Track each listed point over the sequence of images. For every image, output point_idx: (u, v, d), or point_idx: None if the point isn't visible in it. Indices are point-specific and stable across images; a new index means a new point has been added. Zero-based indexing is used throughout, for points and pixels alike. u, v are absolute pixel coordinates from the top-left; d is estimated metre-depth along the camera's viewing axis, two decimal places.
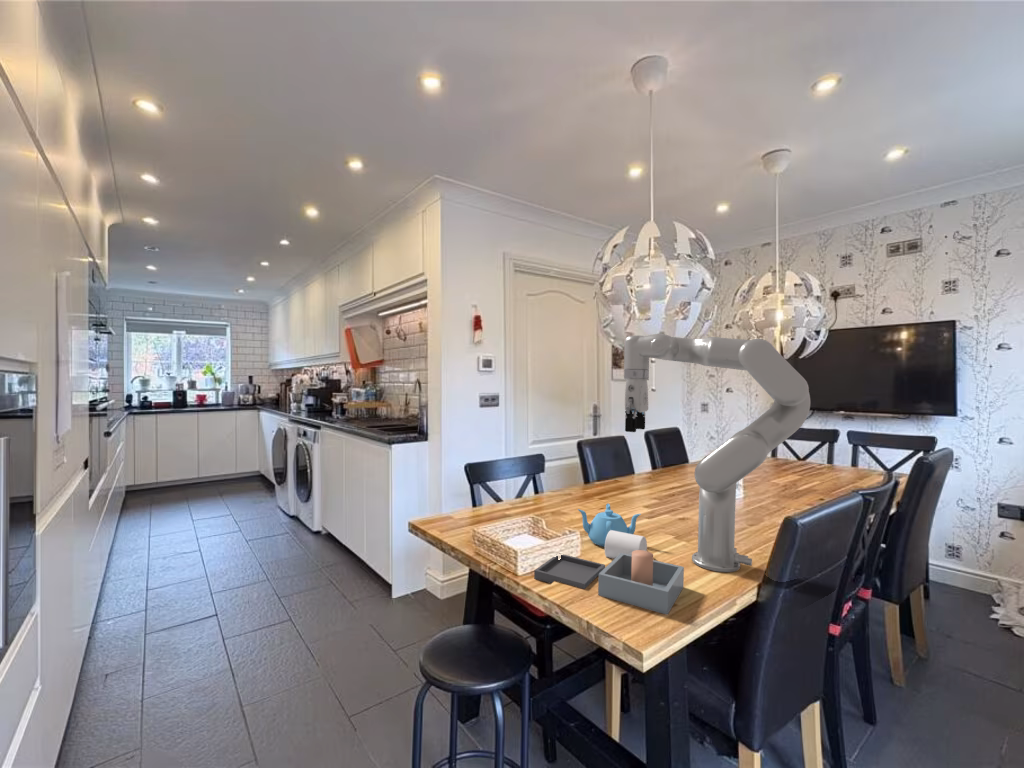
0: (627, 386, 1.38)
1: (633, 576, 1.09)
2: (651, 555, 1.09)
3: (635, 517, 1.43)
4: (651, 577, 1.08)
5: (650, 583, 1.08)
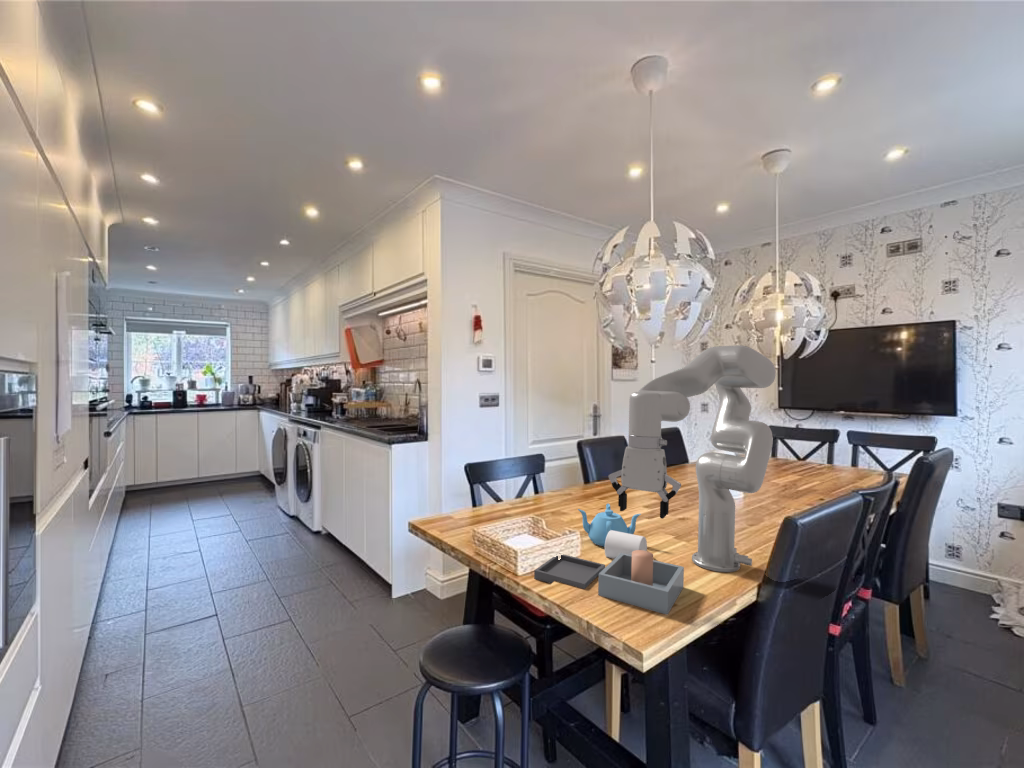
0: (661, 459, 1.06)
1: (633, 576, 1.09)
2: (651, 555, 1.09)
3: (635, 517, 1.43)
4: (651, 577, 1.08)
5: (650, 583, 1.08)
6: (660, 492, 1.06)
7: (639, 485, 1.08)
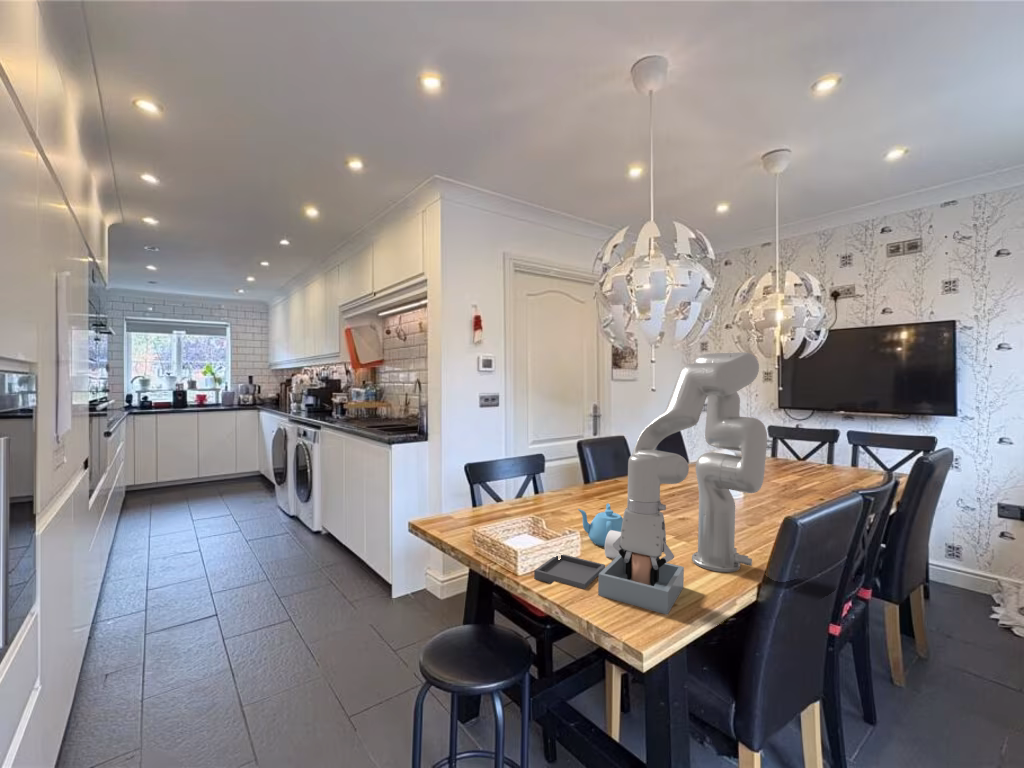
0: (660, 525, 1.06)
1: (633, 576, 1.09)
2: None
3: None
4: None
5: None
6: (653, 559, 1.07)
7: (638, 549, 1.08)
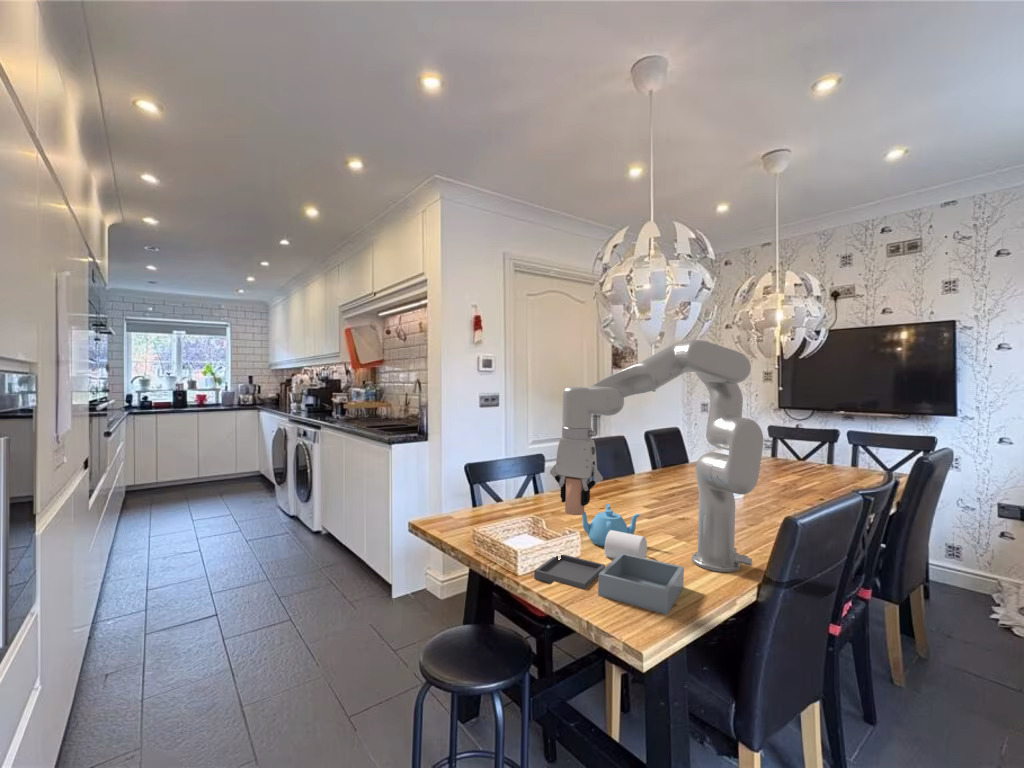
0: (590, 449, 1.16)
1: (566, 498, 1.18)
2: None
3: (635, 517, 1.43)
4: None
5: None
6: (584, 481, 1.17)
7: (571, 473, 1.18)
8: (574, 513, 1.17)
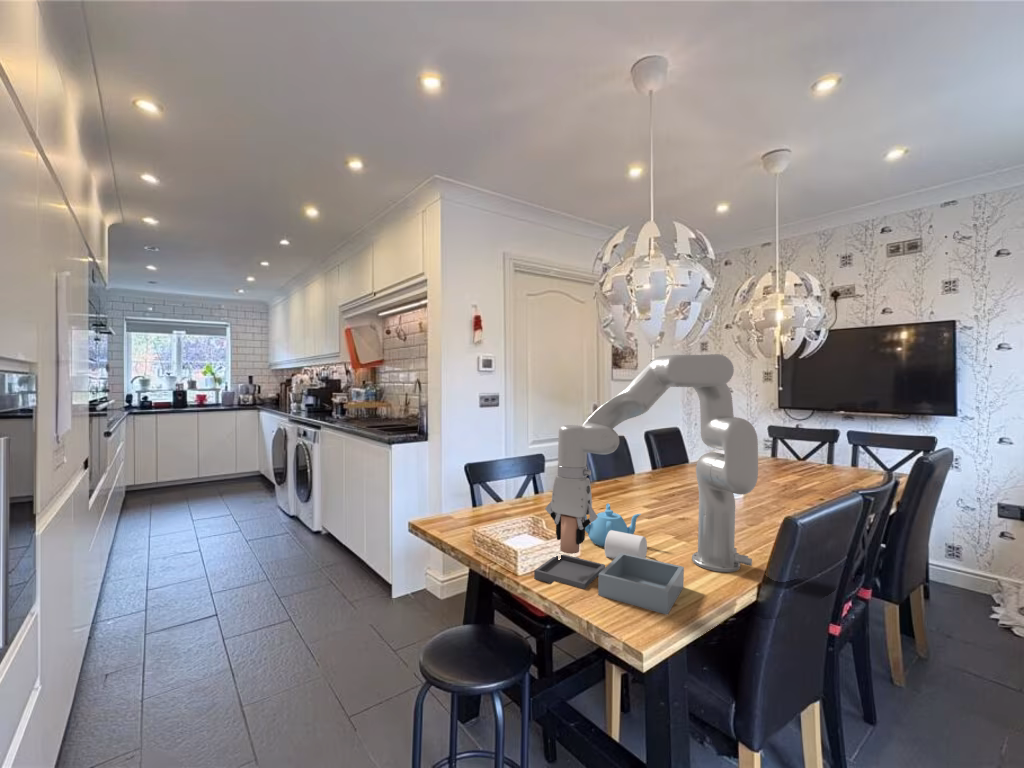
0: (585, 488, 1.16)
1: (561, 536, 1.19)
2: None
3: (635, 517, 1.43)
4: None
5: None
6: (579, 520, 1.17)
7: (566, 511, 1.18)
8: (569, 551, 1.18)
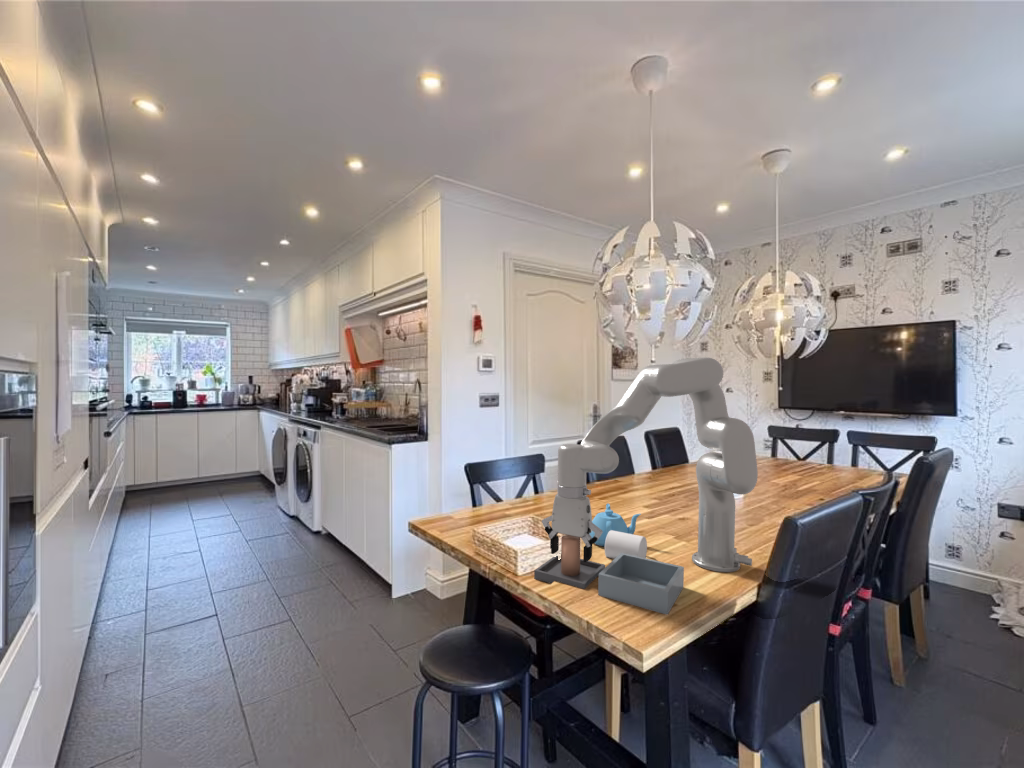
0: (585, 508, 1.16)
1: (562, 558, 1.19)
2: (578, 539, 1.19)
3: (635, 517, 1.43)
4: (577, 559, 1.18)
5: (577, 564, 1.18)
6: (584, 538, 1.17)
7: (566, 530, 1.18)
8: (570, 574, 1.18)
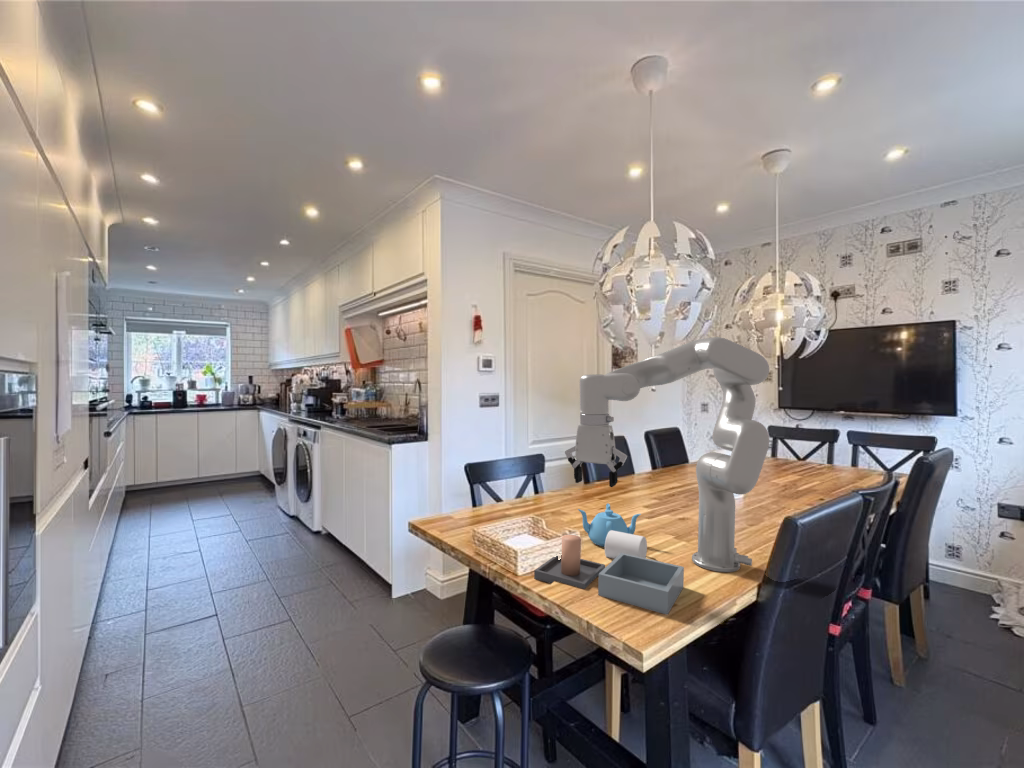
0: (608, 434, 1.18)
1: (562, 558, 1.19)
2: (579, 539, 1.19)
3: (635, 517, 1.43)
4: (578, 559, 1.18)
5: (577, 564, 1.18)
6: (609, 463, 1.18)
7: (590, 458, 1.20)
8: (570, 574, 1.18)
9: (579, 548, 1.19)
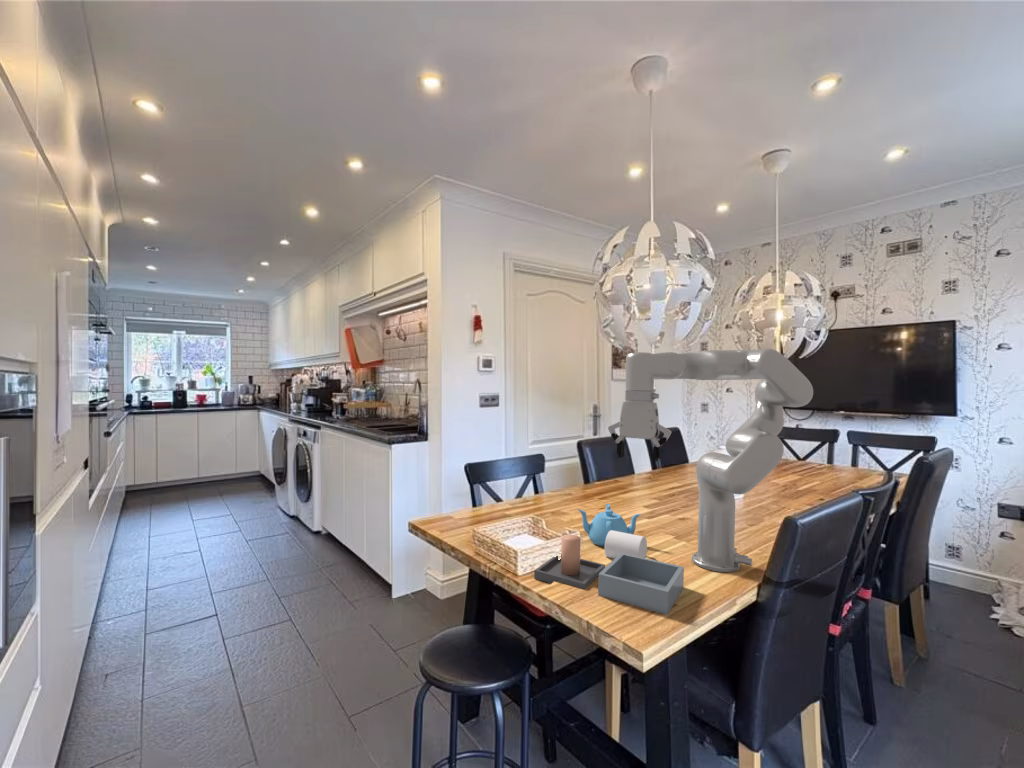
0: (654, 410, 1.22)
1: (562, 558, 1.19)
2: (578, 539, 1.19)
3: (635, 517, 1.43)
4: (578, 559, 1.18)
5: (577, 564, 1.18)
6: (653, 439, 1.22)
7: (635, 433, 1.24)
8: (570, 574, 1.18)
9: (579, 548, 1.19)
